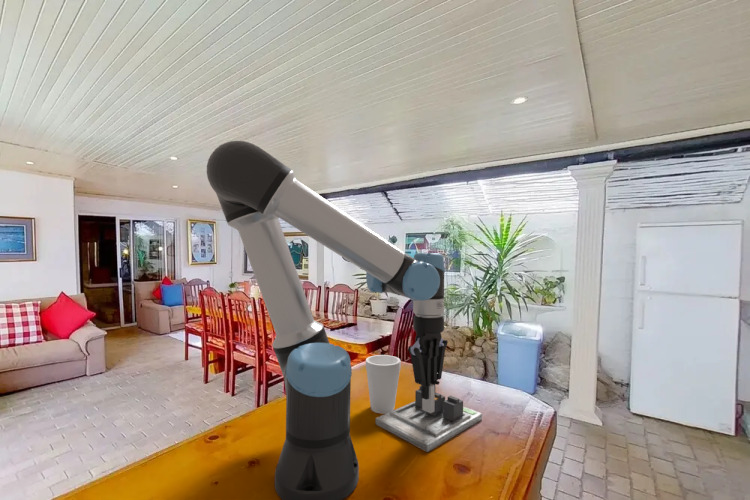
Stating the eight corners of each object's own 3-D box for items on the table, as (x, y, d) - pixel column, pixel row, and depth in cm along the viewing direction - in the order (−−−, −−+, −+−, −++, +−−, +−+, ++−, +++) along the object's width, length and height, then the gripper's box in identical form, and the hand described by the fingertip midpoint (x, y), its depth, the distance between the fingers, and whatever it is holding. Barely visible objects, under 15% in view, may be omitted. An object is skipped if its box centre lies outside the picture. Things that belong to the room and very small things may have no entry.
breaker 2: (434, 417, 84) (434, 397, 84) (424, 413, 87) (425, 394, 87) (445, 412, 87) (445, 393, 87) (435, 408, 90) (435, 389, 90)
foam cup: (400, 402, 97) (401, 355, 97) (399, 417, 88) (400, 366, 88) (367, 400, 98) (367, 354, 98) (362, 415, 89) (363, 364, 89)
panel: (427, 452, 72) (427, 442, 72) (375, 424, 84) (375, 415, 84) (481, 419, 87) (482, 411, 87) (431, 399, 99) (431, 392, 99)
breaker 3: (453, 422, 82) (453, 402, 82) (443, 417, 84) (443, 398, 84) (463, 417, 85) (463, 397, 85) (452, 412, 87) (452, 393, 87)
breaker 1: (424, 409, 89) (424, 390, 89) (415, 405, 91) (415, 387, 91) (433, 405, 91) (433, 387, 92) (424, 401, 94) (425, 383, 94)
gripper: (423, 320, 78) (423, 424, 78) (456, 314, 87) (456, 407, 87) (399, 315, 84) (399, 413, 83) (432, 310, 92) (432, 398, 92)
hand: (428, 410), depth 85 cm, fingers closed
